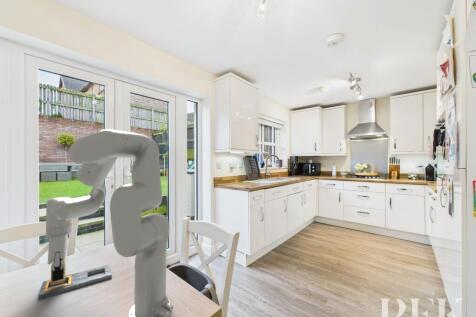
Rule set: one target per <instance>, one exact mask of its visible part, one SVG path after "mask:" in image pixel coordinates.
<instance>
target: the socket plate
mask: <svg viewBox="0 0 476 317" xmlns="http://www.w3.org/2000/svg"><path fill="white" fill-rule="evenodd" d="M110 266H111V265H110V264H106V265H103V266H99V267H95V268H91V269H87V270H83V271H79V272H75V273H72V274H68V275H65V282H64V283H66V282H68V283H66V284H63V285H59V286H55V287H52V288H50V287H51V279H48V280H45V281H43V282H42V284H41V287H40V290H39V293H38V300H42V299H45V298H48V297H49V298H50V297H52V296H55V295H59V294H62V293H66V292H69V291H72V290H76V289H79V288H82V287H86V286H89V285H93V284H97V283H101V282H103V281H107V280H111V279H113V277H112V270H111V267H110ZM103 272H104V274H101V275H97V276H94V277H91V278H90V277H89V276H92V275H96V274H100V273H103Z"/></svg>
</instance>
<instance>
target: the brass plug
mask: <svg viewBox="0 0 476 317" xmlns="http://www.w3.org/2000/svg"><path fill="white" fill-rule="evenodd" d="M66 261H67V260H66V259H65V260H64V261H63V268H64V274H63V279H61V280H58V281H54V282H52V271H53V262H52V263H51V264H50V280H51V286H54V285H58V284H63V283H66V282H65V276H66V274H67V273H66V271H67V270H66V269H67V268H66V267H67V266H66V265H67V263H66ZM60 264H61V263H60ZM51 286H50V287H51Z"/></svg>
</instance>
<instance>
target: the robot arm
mask: <svg viewBox="0 0 476 317" xmlns="http://www.w3.org/2000/svg"><path fill="white" fill-rule="evenodd" d="M69 157H70V159H71V161H72V162H73V163H75V164H77V165H81V166H80V168H79V170H78V172H77V174H76V178H77V180H78V181H79V182H80V183H81V184H83V185H85V186H87V187H91V190H90V191H89V193H88V195H86V196H80V197H75V198H71V197H69V196H60V197H58V196H57V197H52V198H49V199H47V201H46V205H45V206H46V211H45V212H46V213H45V214H46V215H45V237H47V238H48V246H47V248H48V250H47V265H52V262H53V271H52V282H54V281H58V280H61V279H63V274H64V268H63V261H64V260H66V256H67V252H68V251H67V250H68V240H69V239H68V238H69V234H71V233H72V232H73V231H72V230H73V229H72V228H73V220H76V219H78V218H82V217H87V216H90V215H93V214H94V213H96V212H98V210H99V209H100V208H101V206H102V205H103V204H104V202H105V200H106V197H107V186H106V185H105V180H106V179H107V176H108V175H109V173H110V172H111V170H112V168H113V166H114V164H115V163H116V160H117V159H118V158H133V159H135V160H134V161H133V164H132V166H131V172H130V173H131V183H127V184H123V185H120V186H119V187H117V188H116V189H115V190H114V191H113V192H112V195H111V197H110V203H109V212H110V224H111V235H112V236H111V237H112V242H113V248H114V249H115V251H116V252H117V254H118V255H119V256H121V257H124V258H131V257H134V256H135V258H134V288H133V289H134V290H133V292H134V293H133V294H134V295H133V296H134V298H133V299H134V304H133V305H132V307H131V308H130V310H129V312H128V317H171V312H172V311H173V309H174V306H173V305H172V303H171V300H170V299H169V297H167V250H168V243H169V242H168V241H169V236H170V228H171V227H170V222H169V220H168V218H167V217H166V216H165V215H164V214H161V213H158V212H154V213H149V214H146V215H144V216H141V215H142V214H144V213H147V212H150V211H153V210H154V209H157V208H159V207H160V205H161V204H162V200H163V192H162V191H163V190H162V181H161V172H160V150H159V146H158V145H157V142H156V141H155V140H154V139H153V138H152V137H149V136H148V135H145V134H140V133H136V132H130V131H122V130H115V129H102V130H100V131H96V132H93V133H90V134H88V135H85V136H82V137H80V138H78V139H76V140H75V141H74V142H73V143H72V144H71V146H70V148H69ZM60 263H61V264H60Z"/></svg>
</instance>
